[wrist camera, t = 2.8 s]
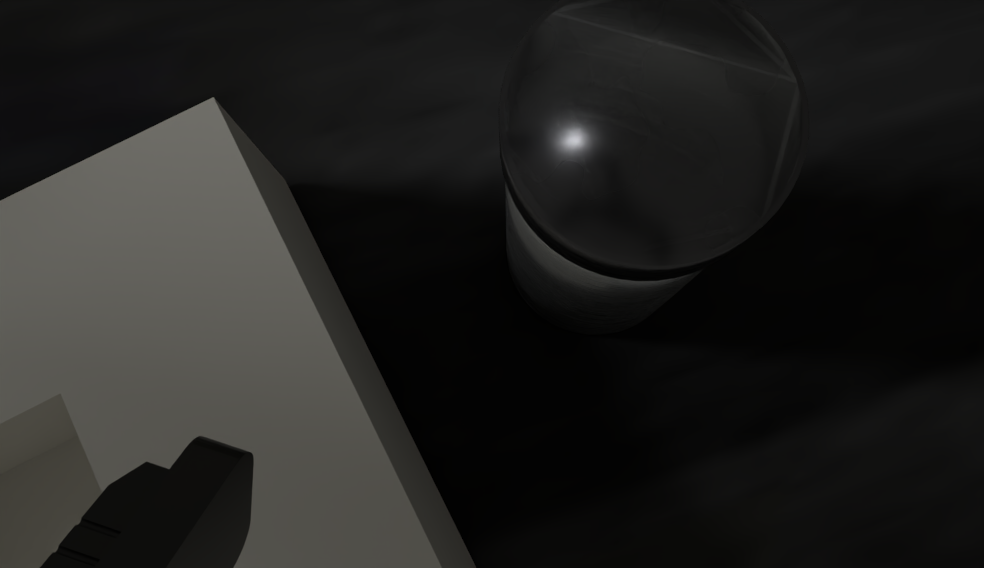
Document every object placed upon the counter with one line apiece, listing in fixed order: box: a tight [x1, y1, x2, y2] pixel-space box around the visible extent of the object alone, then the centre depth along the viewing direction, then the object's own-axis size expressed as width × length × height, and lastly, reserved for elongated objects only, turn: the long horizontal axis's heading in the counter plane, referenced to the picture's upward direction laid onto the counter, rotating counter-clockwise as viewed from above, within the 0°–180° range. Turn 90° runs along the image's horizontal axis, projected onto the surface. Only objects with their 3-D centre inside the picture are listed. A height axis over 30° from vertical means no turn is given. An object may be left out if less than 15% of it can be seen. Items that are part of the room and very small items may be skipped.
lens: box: [499, 0, 809, 335], centre depth 19 cm, size 5×5×10 cm
